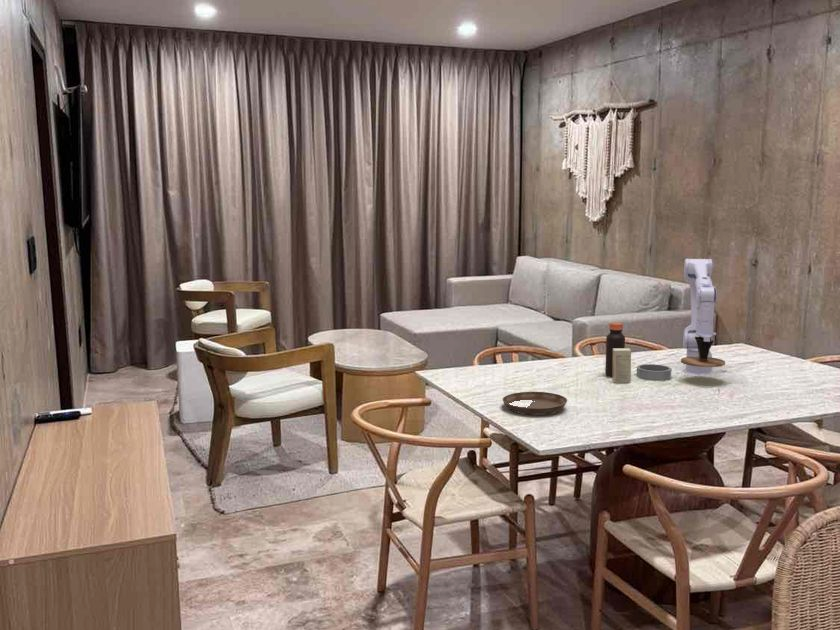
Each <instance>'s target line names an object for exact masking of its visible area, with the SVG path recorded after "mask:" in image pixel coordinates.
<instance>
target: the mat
mask: <svg viewBox="0 0 840 630" xmlns="http://www.w3.org/2000/svg"><path fill="white" fill-rule="evenodd" d="M674 381H675V382H680V383H684V384H688V385H690V386H691V385H692V386H695V387H700V388H704V389H711V388H715V387H716V388H717V387H721V386H725V385H729V384H732V382H731V381H726V380H722V379H717V378H713V377H710V376H709V377H708V376H705V375H702V374H700V375H695V376H690V377H685V378H680V379H675V380H674Z"/></svg>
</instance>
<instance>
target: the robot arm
mask: <svg viewBox="0 0 840 630" xmlns="http://www.w3.org/2000/svg"><path fill="white" fill-rule="evenodd" d="M683 265H684V266H683V276H684V277H683V278H684V282H686V283H688V285H689V289H690V325H688V326H687V327H685V328H684V330H683V335H682V336H683V337H682V340H683V341H682V345H683V346H682V347H683V348H684V349H685V350H686V357H694V356H698V357H699V351H700V358H701V359H707V357H711V358H713V354H712V352H711V348H712V345H713V343H714V340H713V336H716V335H717V332H714V318H715V317H714V316H715V315H714V314H715V304H716V302H717V300H718V299H717V296H718V293H717V292H718V291H717V288H716V286H714V285H713V281H712V279H711V277H712V273H713V259H711V258H685V260H684V262H683ZM712 368H713V367H698V366H691V365H686V364H685V369H683V370H680V371H681V372H683V373H689V374H691V375H695V376H699V375H704V374H708V373H713V372H714V371H713V370H712Z"/></svg>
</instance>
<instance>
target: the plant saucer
mask: <svg viewBox="0 0 840 630" xmlns="http://www.w3.org/2000/svg"><path fill="white" fill-rule="evenodd" d="M520 400H532V401H533V402H532V403H531V404H530V406H528V407H527V408H526V407H518V406H513V405H510V404H509V403H512V402H514V401H520ZM534 401H535V402H534ZM502 402H503V404H504V405H505V406H506V408H508V409H509V410H510V411H512V410H513V411H515V412H514V413H516V412H519V413H518V414H520V413H524V414H523V415H526V414H533V415H532V416H545V415H544V414H548V415H552V413H553V414H555V412H556V413H558V412H560V411H561V410H562V409H563V408H564V407H565V406H566V405H567V403H568V398H567V397H565V396H563V395H560V394H557V393H554V392H553V393H552V392H546V391H520V392H514V393H510V394H507V395H505V396H504V397H502ZM513 411H512V412H513Z"/></svg>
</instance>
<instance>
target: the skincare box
mask: <svg viewBox="0 0 840 630" xmlns="http://www.w3.org/2000/svg"><path fill="white" fill-rule="evenodd" d="M611 379H612V382H613V384H628V383H629V384H630V383H632V349H630V348H629V347H628V348H626V347H625V348H613V366H612V377H611Z"/></svg>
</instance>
